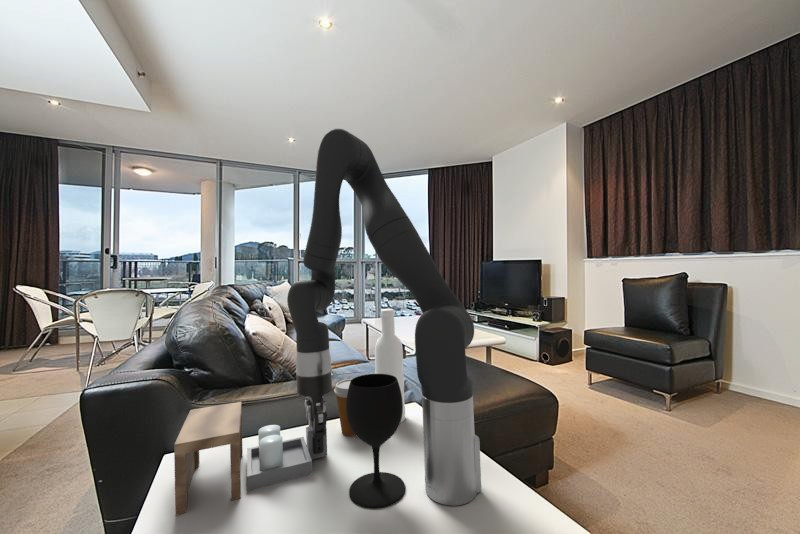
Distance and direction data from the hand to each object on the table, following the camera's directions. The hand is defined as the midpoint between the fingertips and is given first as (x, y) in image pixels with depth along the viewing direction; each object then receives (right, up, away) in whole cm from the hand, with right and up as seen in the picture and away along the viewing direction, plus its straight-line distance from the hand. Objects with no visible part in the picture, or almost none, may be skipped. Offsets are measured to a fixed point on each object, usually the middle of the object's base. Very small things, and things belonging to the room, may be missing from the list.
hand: (317, 449), depth 76 cm
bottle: (+16, -2, +19) cm, 25 cm away
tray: (-5, -2, -3) cm, 6 cm away
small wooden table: (-19, -2, -8) cm, 20 cm away
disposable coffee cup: (+6, -2, +12) cm, 14 cm away
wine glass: (+14, -1, -13) cm, 19 cm away
